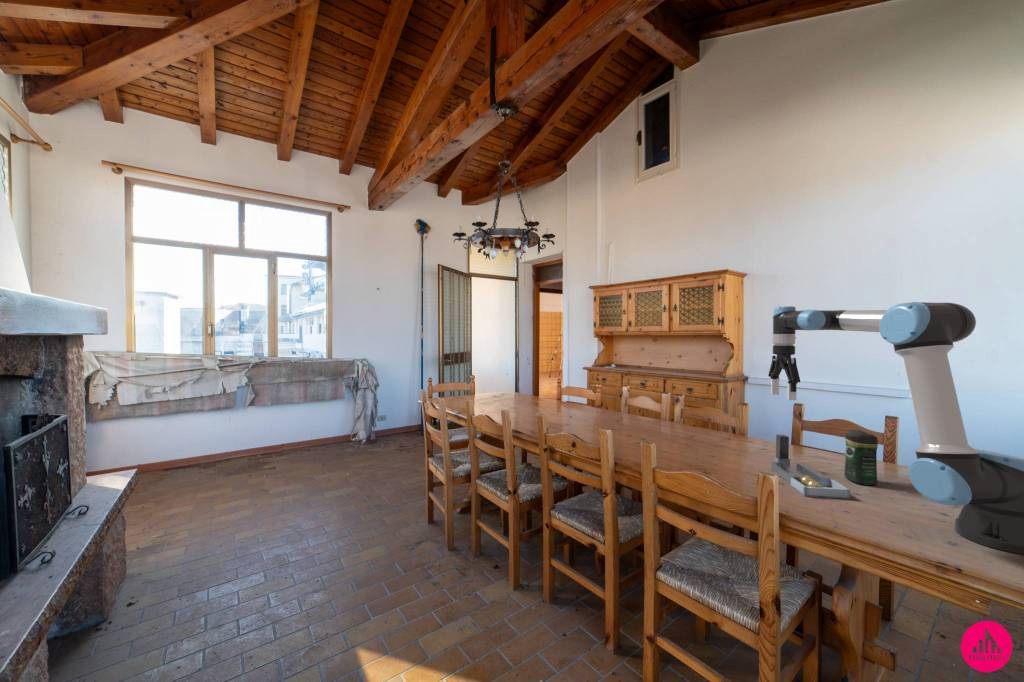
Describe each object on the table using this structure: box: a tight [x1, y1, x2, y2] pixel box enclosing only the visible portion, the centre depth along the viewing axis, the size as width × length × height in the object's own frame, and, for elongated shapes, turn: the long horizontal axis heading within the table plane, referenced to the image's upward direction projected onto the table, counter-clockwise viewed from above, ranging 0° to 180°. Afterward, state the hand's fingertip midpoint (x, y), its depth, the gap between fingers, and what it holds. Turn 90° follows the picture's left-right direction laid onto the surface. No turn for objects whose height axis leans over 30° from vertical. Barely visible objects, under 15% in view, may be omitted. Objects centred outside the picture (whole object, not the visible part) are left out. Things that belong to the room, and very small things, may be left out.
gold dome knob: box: [805, 479, 823, 488], centre depth 138 cm, size 4×4×3 cm
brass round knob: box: [799, 475, 815, 486], centre depth 142 cm, size 4×4×3 cm
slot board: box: [771, 461, 832, 487], centre depth 151 cm, size 16×12×4 cm
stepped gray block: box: [773, 434, 791, 467], centre depth 164 cm, size 3×4×13 cm
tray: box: [790, 478, 851, 500], centre depth 139 cm, size 9×14×3 cm, turn 81°
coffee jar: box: [844, 429, 879, 486], centre depth 149 cm, size 10×8×19 cm
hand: (783, 397), depth 163 cm, fingers open, 13 cm apart
